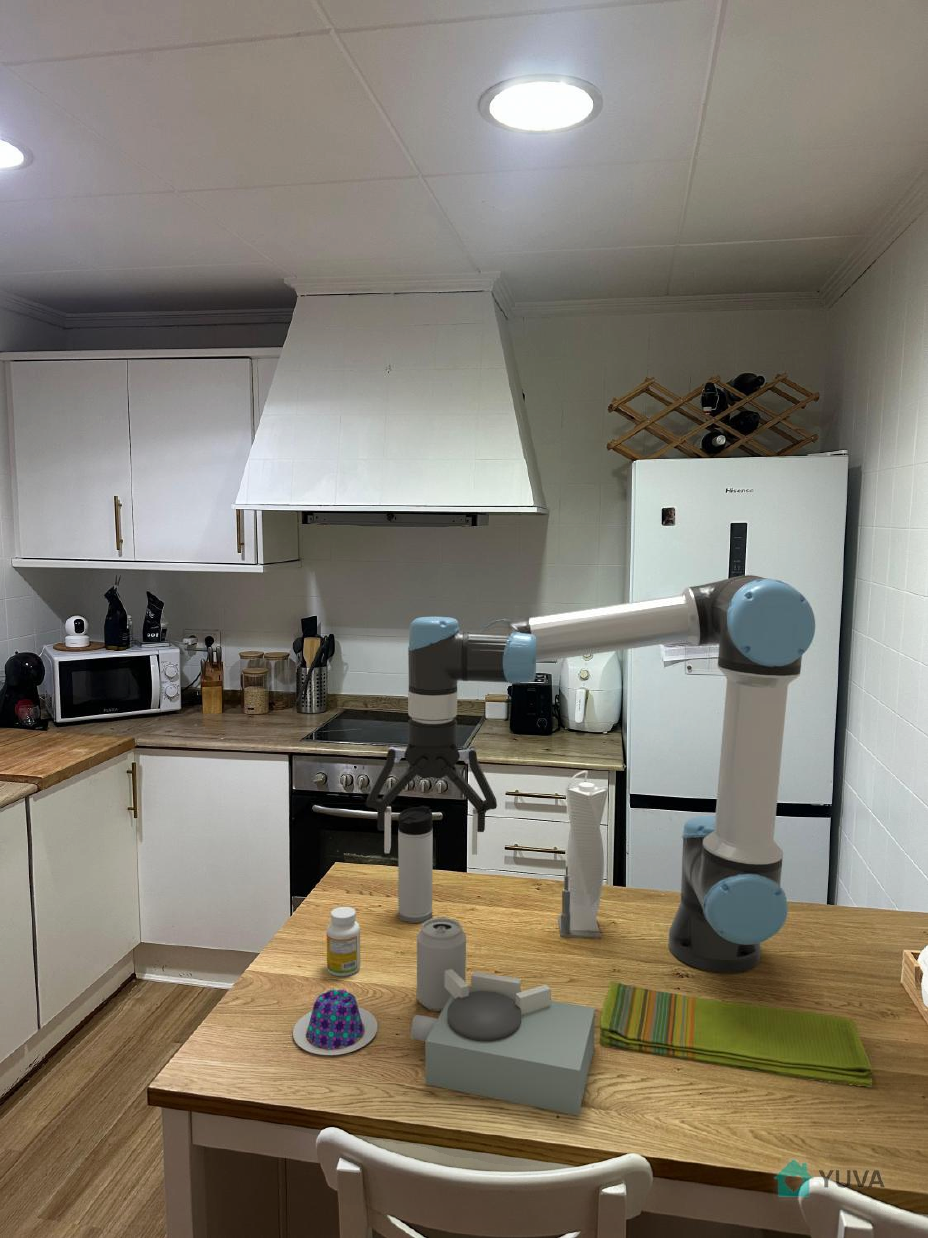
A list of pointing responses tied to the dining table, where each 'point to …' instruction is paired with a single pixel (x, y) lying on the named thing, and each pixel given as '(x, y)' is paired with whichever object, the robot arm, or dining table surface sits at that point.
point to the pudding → (335, 1024)
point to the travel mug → (415, 864)
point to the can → (439, 959)
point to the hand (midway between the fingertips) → (431, 850)
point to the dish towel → (734, 1035)
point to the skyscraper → (583, 861)
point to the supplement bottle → (343, 942)
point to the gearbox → (508, 1043)
